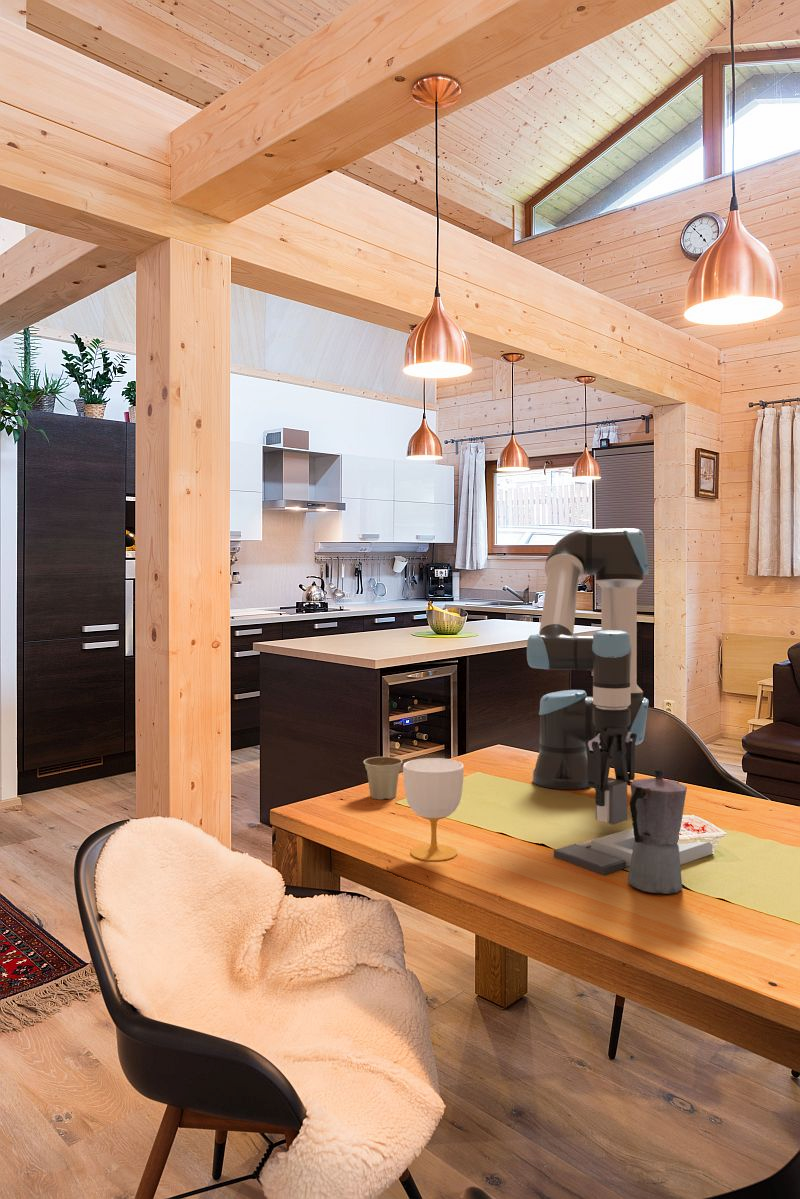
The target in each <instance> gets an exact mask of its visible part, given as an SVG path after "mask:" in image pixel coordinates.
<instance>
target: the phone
mask: <svg viewBox="0 0 800 1199" xmlns="http://www.w3.org/2000/svg"><path fill="white" fill-rule="evenodd" d="M578 844H579V843H574V844H570V845H566V846H563V847H560V848H558V849H553V857H554V858H557V859H560V860H562V861H565V862H568V863H570V864H573V865H575V866H578V867H581V868H584V869H587V870H589V871H592V872H594V873H597V874H599V875H602V876H605V875H608V874H611V873H614V872H618V871H620V870H623V869H624V870H625V869H627V866H626V861H624V860H621V859H618V858H615V857H612V856H609V855H606V854H603V853H601V852H598V851H595V850H592V849H591V848H589V847H583V846H580V845H578Z"/></svg>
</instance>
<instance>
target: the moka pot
mask: <svg viewBox="0 0 800 1199" xmlns="http://www.w3.org/2000/svg"><path fill="white" fill-rule="evenodd" d="M654 772H655V773H654V774H655V777H654V778H653V777H652V778H640V779H638V778H637V779H634V780H632V781H631V782H632V783H631V786H630V792H631V794H630V795H631V797H630V800H629V811H630V814H631V822H632V823H631V824H632V828H633V830H634V836H635V841H634V847H633V852H632V857H631V863H630V867H629V869H628V873H627V882H628V884H629V885H630V886H631V887H633V888H635V889H637V890H640V891H642V892H646V893H651V894H661V895H665V894H666V895H668V894H670V895H671V894H677V893H679V892H680V891H682V889H683V881H682V869H681V868H682V867H681V865H680V856H679V846H678V844H677V843H678V840H679V832H681V827H682V820H683V814H684V809H685V808H684V807H685V803H686V802H685V801H686V796H687V790H688V788H687V786H686V785H684V784H680V782H679V781H677V780H672V779H666V778H663V777H664V773H665V770H663V769H661V768H657V769H654Z"/></svg>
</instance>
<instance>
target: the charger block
mask: <svg viewBox="0 0 800 1199" xmlns="http://www.w3.org/2000/svg"><path fill="white" fill-rule="evenodd" d="M606 790H609V822H608V823H607V824H610V825H612V826H614V825H616V824H620V823H623V822H626V821H628V785H627V782H625V781H621V780H618V779H616V778H613V777H608V782H607V789H606ZM595 820H597V805H596V804H595Z"/></svg>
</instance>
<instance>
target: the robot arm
mask: <svg viewBox="0 0 800 1199" xmlns="http://www.w3.org/2000/svg"><path fill="white" fill-rule="evenodd" d="M648 559H649V558H648V551H647V544H646V539H645V534H644V532H643V531H642V529H639V528H627V527H622V528H620V527H619V528H597V529H596V528H595V529H594V528H593V529H592V528H591V529H587V528H585V529H584V528H582V529H578V530H575V531H573V532H570V533H568V534H566V535H565V536H564V537H562V538H561V539H559V540H558V541H557V542H556V544H554V546H553V547H552V549H550V551H549V553H548V555H547V557H546V560H545V563H544V564H545V565H544V573H545V575H546V577H547V579H546V587H545V592H544V593H545V594H544V598H543V606H542V612H541V618H540V626H539V633H537V634H531V635H529V636H528V639H527V642H526V660H527V664H528V667H530V668H532V669H540V670H547V671H549V670H563V671H565V670H567V671H568V670H570V671H571V670H573V671H575V670H576V671H577V670H578V671H592V696H587V692H586V691H585V690H583V689H568V690H566V689H565V690H560V691H554V692H553V691H552V692H549V693H546V694H544V695H543V696H542V697H541V698H540V700H539V711H538V715H539V751H538V752H539V753H538V755H537V759H536V763H535V768H534V769H533V771H532V782H533V783H534V784H536V785H537V786H540V787H543V788H548V789H554V790H580V789H582V790H583V789H586V788H590V789H594V791H595V794H594V795H595V796H594V798H595V799H594V800H595V806H596V805H597V819H596V820H597V821H600V822H603V823H606V824H609V823H608V822H609V790H606V789H607V782H608V778H609V775H610V769H611V768H610V767H611V761H612V764H613V768H614V770H613V771H614V775H615V779H618V780H621V781H625V782H627V786H629V787H631V783H632V782H633V781H634V780H635V779H636V778H635V774H636V769H635V768H636V767H635V766H636V762H635V761H636V750H635V749H636V746H637V745H640V744H642V742H644V738H645V733H646V726H647V719H648V710H649V699H648V698H646V697H644V696H643V695H644V691H643V690H642V688H641V687H640V686H639V685H638V684H637V683H638V681H637V677H638V676H637V672H638V671H637V664H638V663H637V659H638V658H637V655H638V654H637V653H638V652H637V651H638V650H637V646H638V645H637V639H638V638H637V635H638V634H637V632H638V627H637V624H638V623H637V622H638V621H637V617H638V613H637V612H638V611H637V610H638V608H637V607H638V605H637V604H638V602H637V601H638V600H637V599H638V598H637V596H638V594H637V593H638V588H639V587H640V586H641V585H642V584H643V583H644V576H646V575H649V574H650V570H649V562H648V561H649V560H648ZM585 575H586V576H595V583H596V584H597V585H598V586H599V587H600V589H601V628H600V630H597V631H595V632H594V633H593V635H574V631H575V630H574V629H575V620H576V619H575V618H576V612H577V611H576V610H577V609H576V608H577V600H578V599H577V598H578V590H579V581H581V579H582V577H583V576H585Z"/></svg>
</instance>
